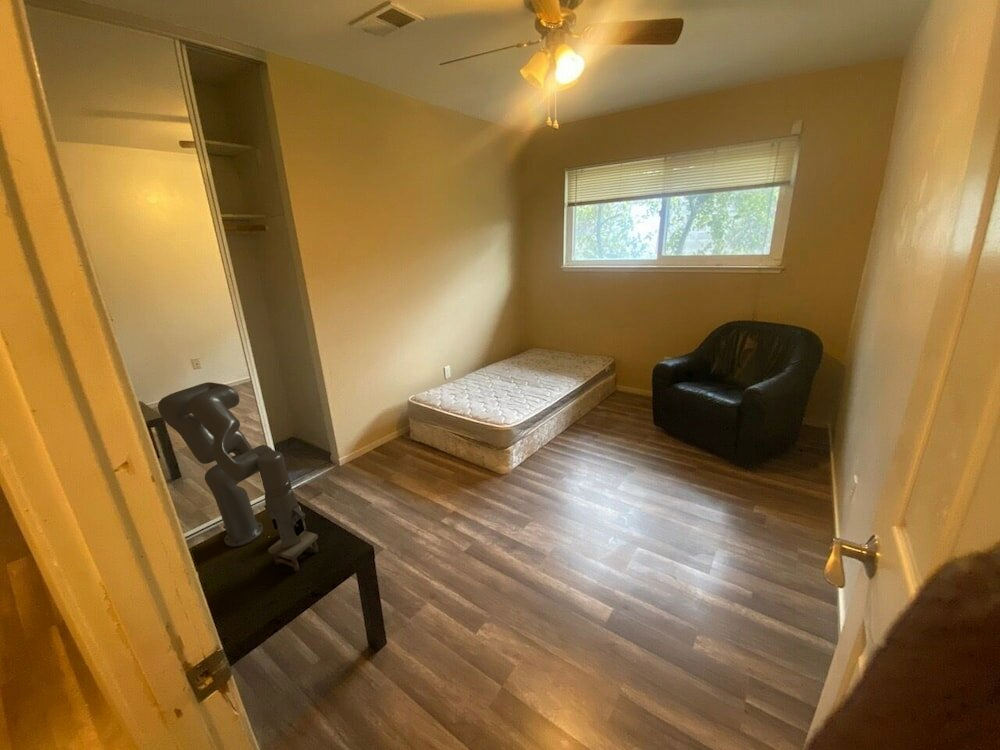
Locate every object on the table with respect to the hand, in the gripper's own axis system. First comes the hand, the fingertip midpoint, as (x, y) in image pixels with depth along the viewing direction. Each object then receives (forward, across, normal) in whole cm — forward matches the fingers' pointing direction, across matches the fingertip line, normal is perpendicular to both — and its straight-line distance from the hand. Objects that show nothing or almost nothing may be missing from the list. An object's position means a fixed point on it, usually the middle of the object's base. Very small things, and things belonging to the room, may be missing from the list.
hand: (289, 529), depth 137 cm
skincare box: (+5, 0, 0) cm, 5 cm away
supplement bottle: (+12, -11, +10) cm, 19 cm away
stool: (+12, 0, 0) cm, 12 cm away
